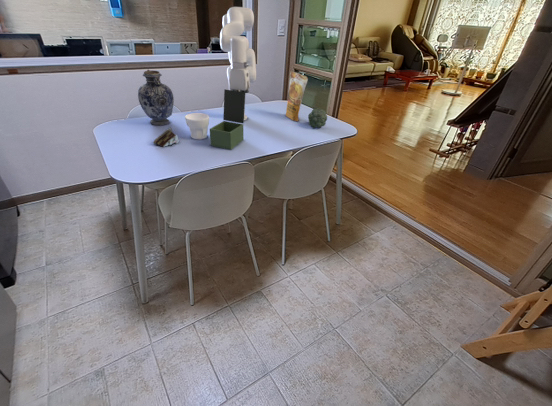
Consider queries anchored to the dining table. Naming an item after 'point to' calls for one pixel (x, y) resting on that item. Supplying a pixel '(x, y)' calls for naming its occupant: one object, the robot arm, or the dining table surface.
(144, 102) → the decorative vase
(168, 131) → the chocolate cake
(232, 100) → the bin lid
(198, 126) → the cup
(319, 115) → the vegetable
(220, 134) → the bin
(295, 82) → the pancake mix bag
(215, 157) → the dining table surface
